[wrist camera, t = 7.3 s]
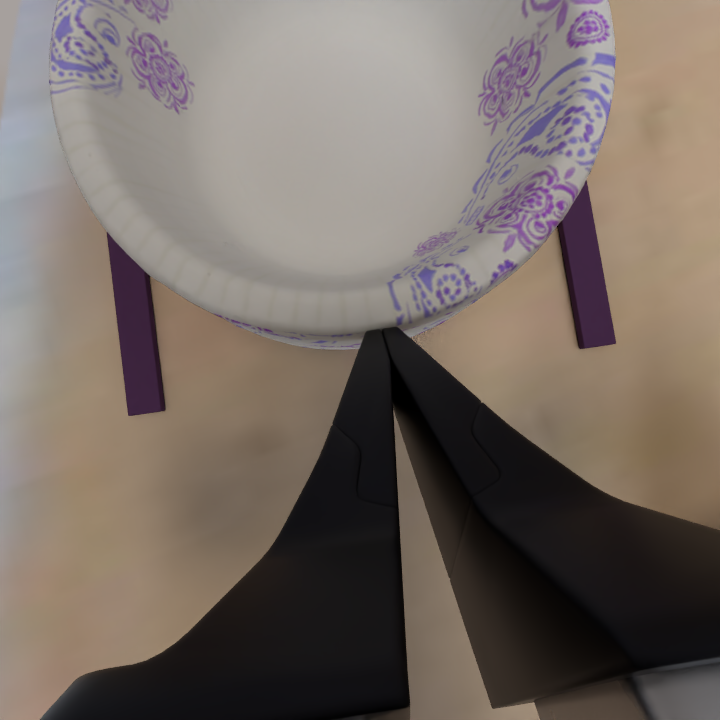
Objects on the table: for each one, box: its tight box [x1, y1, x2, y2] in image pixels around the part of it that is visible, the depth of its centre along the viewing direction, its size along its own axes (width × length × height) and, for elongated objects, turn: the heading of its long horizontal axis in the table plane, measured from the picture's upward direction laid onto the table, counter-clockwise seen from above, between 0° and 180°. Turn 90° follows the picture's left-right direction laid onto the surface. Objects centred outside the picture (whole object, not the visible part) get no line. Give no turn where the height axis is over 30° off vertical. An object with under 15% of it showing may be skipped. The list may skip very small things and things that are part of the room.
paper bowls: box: [49, 0, 616, 350], centre depth 13 cm, size 15×15×8 cm
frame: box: [107, 180, 616, 416], centre depth 17 cm, size 19×22×1 cm
